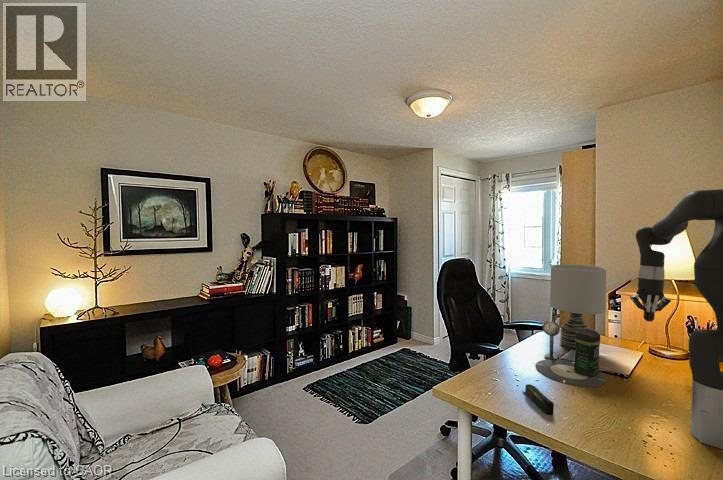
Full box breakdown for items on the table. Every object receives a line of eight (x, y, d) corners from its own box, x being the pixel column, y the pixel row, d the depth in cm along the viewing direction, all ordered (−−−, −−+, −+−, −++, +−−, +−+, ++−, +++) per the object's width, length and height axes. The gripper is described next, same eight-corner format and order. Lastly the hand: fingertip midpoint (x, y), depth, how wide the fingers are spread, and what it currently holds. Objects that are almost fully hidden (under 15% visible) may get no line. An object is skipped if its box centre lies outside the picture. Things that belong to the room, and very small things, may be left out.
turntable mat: (603, 394, 121) (603, 393, 121) (528, 373, 139) (528, 373, 139) (608, 370, 141) (608, 369, 141) (542, 355, 158) (542, 354, 158)
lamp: (594, 360, 151) (596, 272, 149) (541, 345, 171) (542, 267, 169) (611, 348, 165) (613, 267, 164) (561, 335, 185) (562, 263, 183)
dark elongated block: (555, 402, 108) (528, 380, 123) (547, 402, 108) (520, 380, 123) (555, 416, 109) (527, 392, 123) (547, 416, 108) (520, 392, 123)
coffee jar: (591, 379, 132) (592, 335, 132) (571, 371, 139) (571, 330, 139) (602, 373, 137) (603, 331, 136) (582, 366, 144) (583, 326, 143)
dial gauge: (558, 361, 150) (559, 323, 150) (542, 357, 155) (542, 320, 154) (560, 358, 154) (561, 320, 153) (544, 354, 159) (544, 318, 158)
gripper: (665, 277, 127) (662, 320, 128) (626, 275, 131) (623, 316, 131) (678, 280, 120) (675, 325, 120) (636, 277, 123) (633, 321, 124)
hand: (648, 320), depth 126 cm, fingers closed
